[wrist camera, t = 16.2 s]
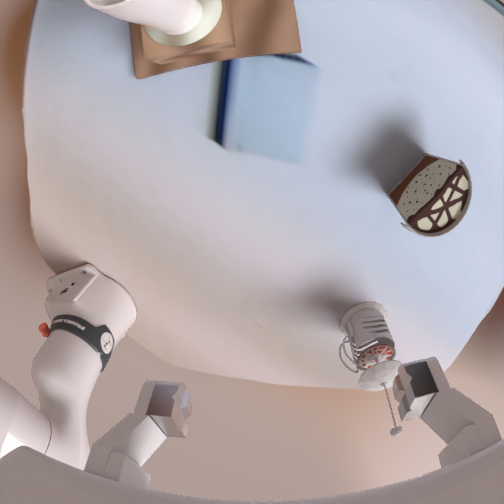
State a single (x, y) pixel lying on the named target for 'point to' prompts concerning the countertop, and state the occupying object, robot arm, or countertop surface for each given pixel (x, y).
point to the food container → (433, 196)
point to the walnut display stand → (219, 36)
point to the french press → (371, 348)
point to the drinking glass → (154, 13)
